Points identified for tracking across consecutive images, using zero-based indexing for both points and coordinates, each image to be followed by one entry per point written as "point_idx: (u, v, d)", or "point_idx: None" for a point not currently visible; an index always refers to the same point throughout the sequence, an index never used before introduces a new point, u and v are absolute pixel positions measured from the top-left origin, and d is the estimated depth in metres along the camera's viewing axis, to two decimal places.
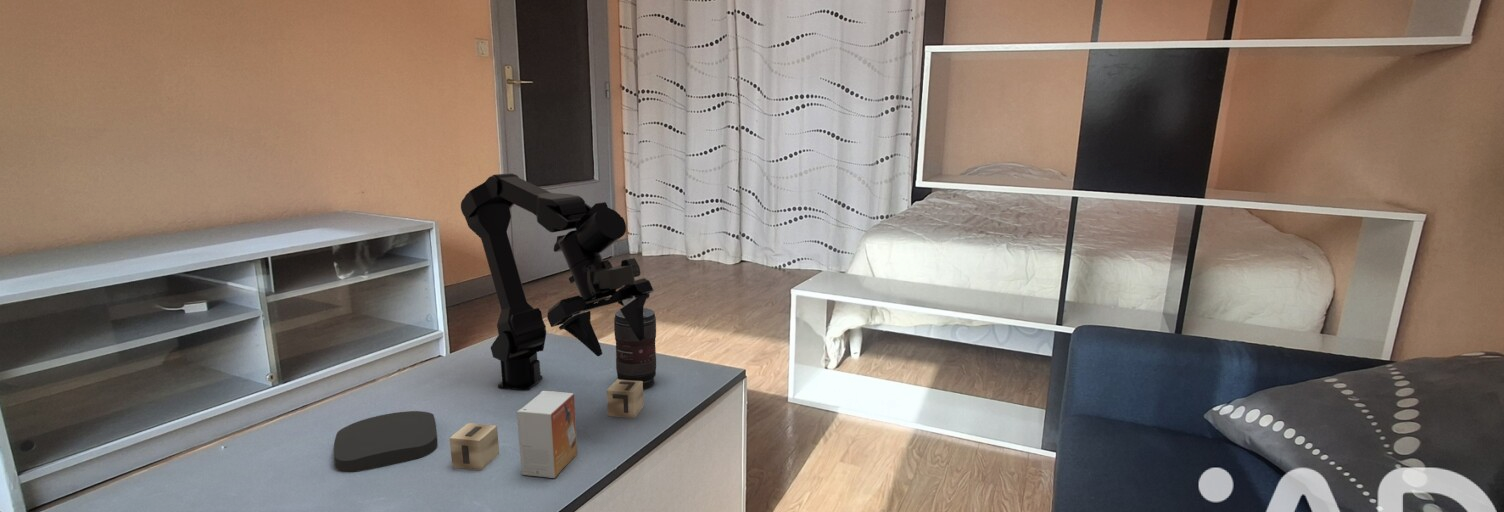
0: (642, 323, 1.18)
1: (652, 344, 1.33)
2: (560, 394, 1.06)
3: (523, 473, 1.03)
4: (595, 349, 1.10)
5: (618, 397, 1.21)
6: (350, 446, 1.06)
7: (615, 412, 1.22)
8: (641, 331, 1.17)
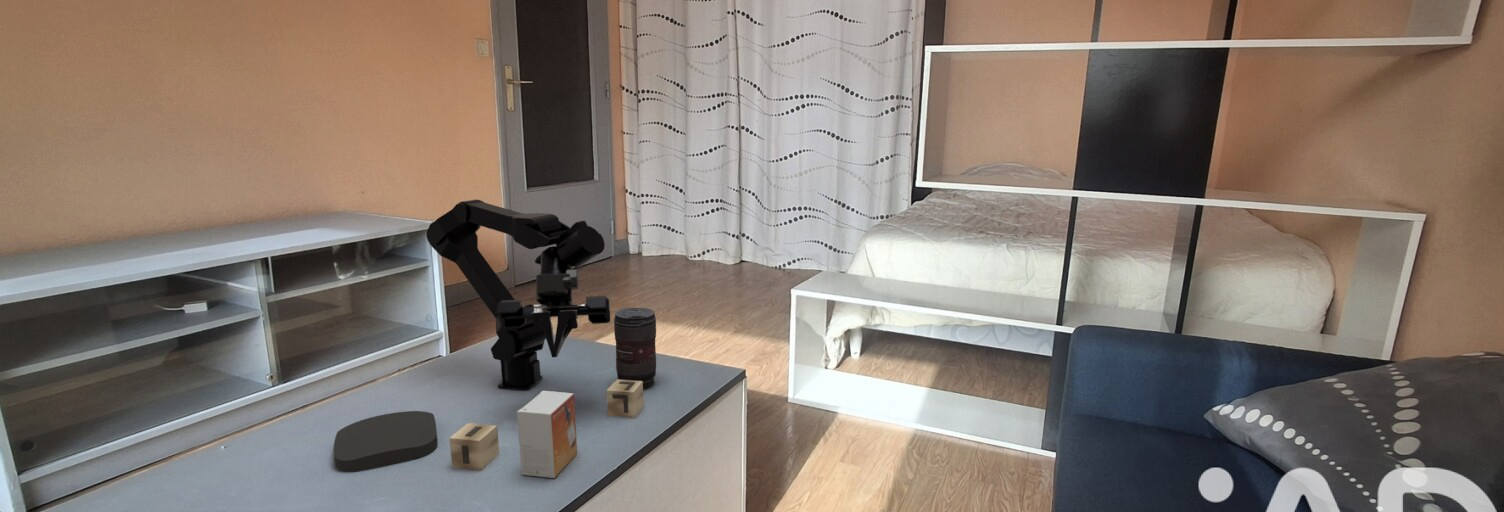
0: (559, 339, 1.16)
1: (652, 344, 1.33)
2: (560, 394, 1.06)
3: (523, 473, 1.03)
4: (550, 350, 1.16)
5: (618, 397, 1.21)
6: (350, 446, 1.06)
7: (615, 412, 1.22)
8: (555, 347, 1.16)
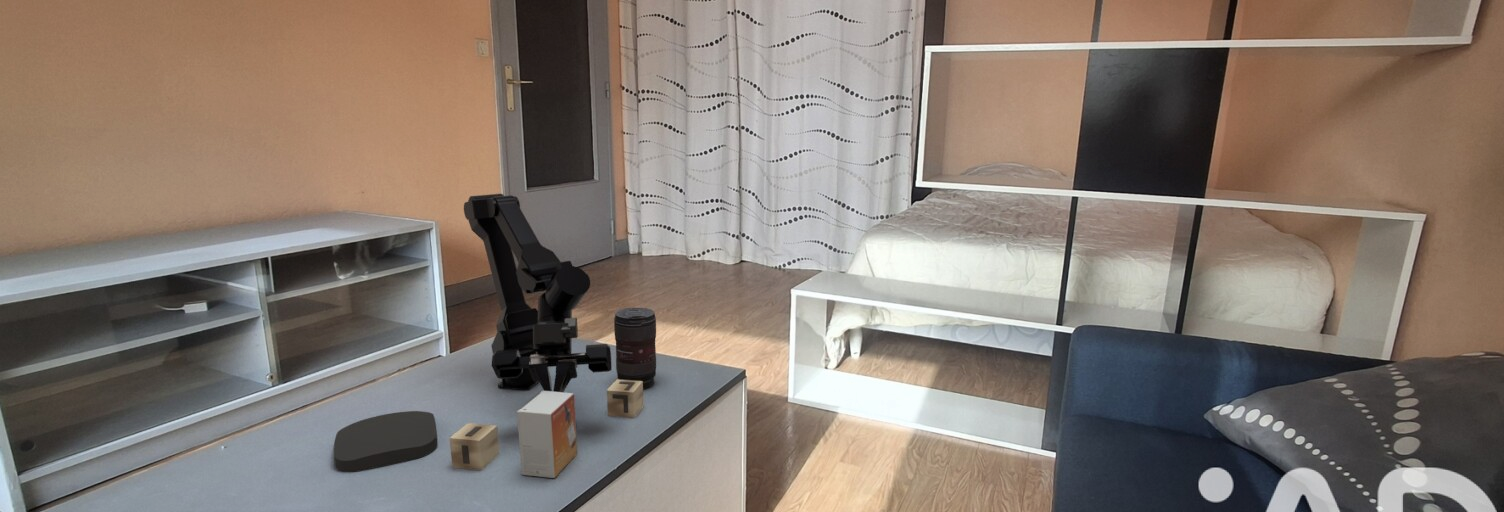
0: None
1: (652, 344, 1.33)
2: (560, 394, 1.06)
3: (523, 473, 1.03)
4: None
5: (618, 397, 1.21)
6: (350, 446, 1.06)
7: (615, 412, 1.22)
8: None
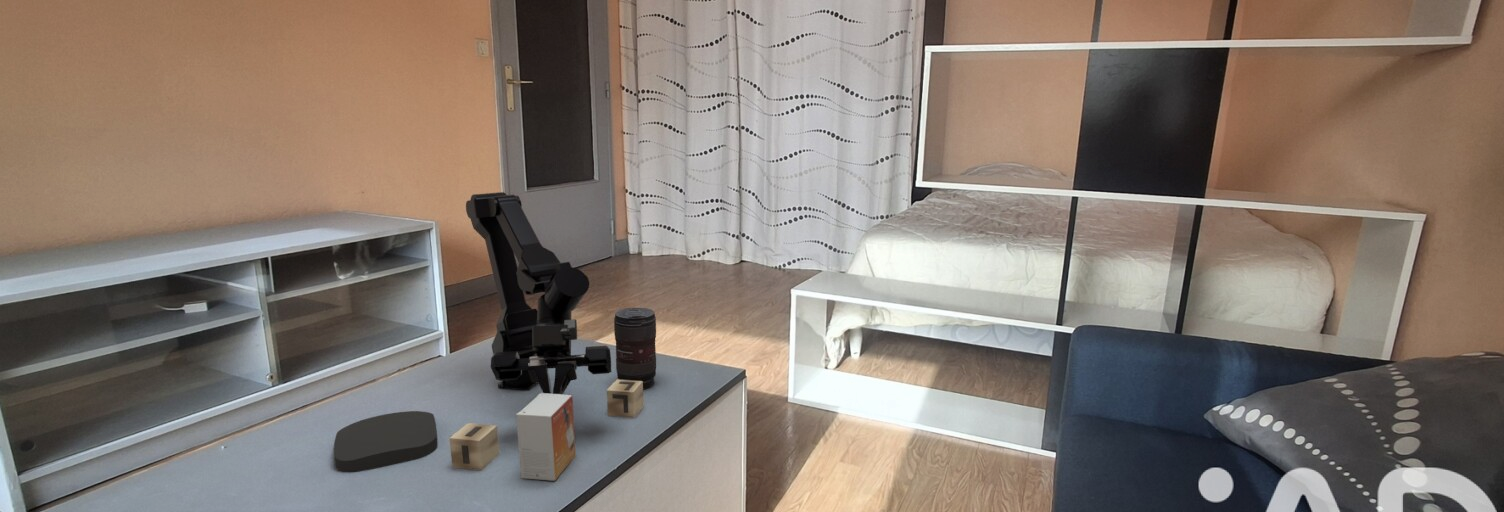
0: None
1: (652, 344, 1.33)
2: (558, 396, 1.06)
3: (523, 476, 1.02)
4: None
5: (618, 397, 1.21)
6: (351, 446, 1.06)
7: (615, 412, 1.22)
8: None
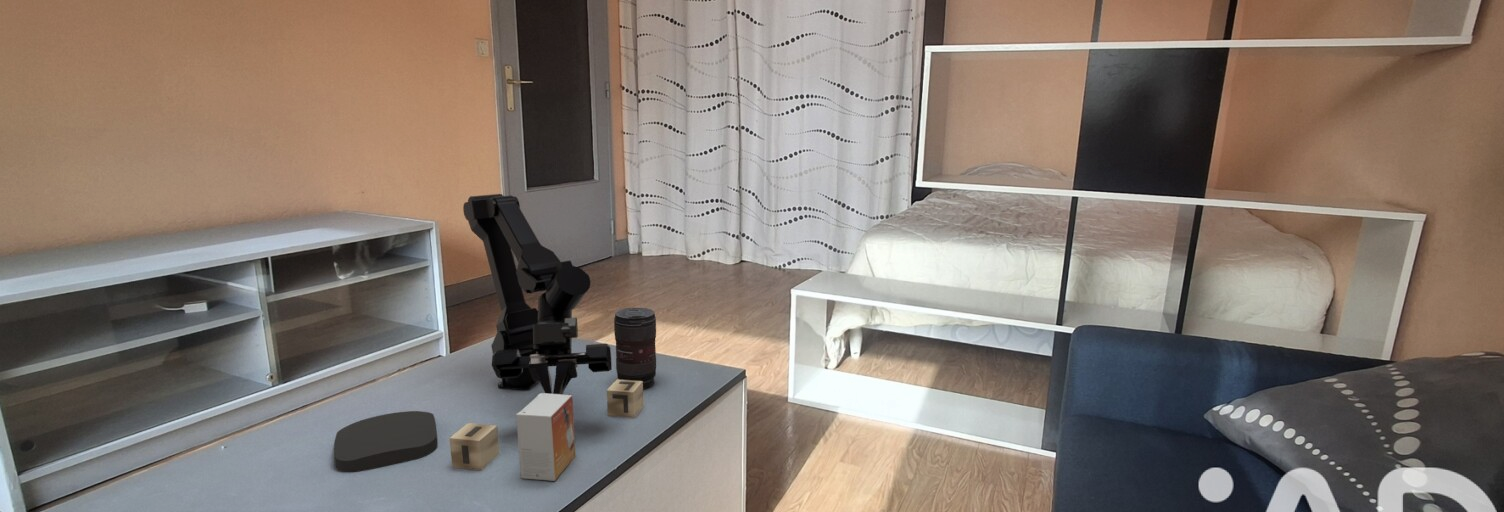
0: (557, 391, 1.10)
1: (652, 344, 1.33)
2: (558, 396, 1.06)
3: (523, 476, 1.02)
4: None
5: (618, 397, 1.21)
6: (351, 446, 1.06)
7: (615, 412, 1.22)
8: None
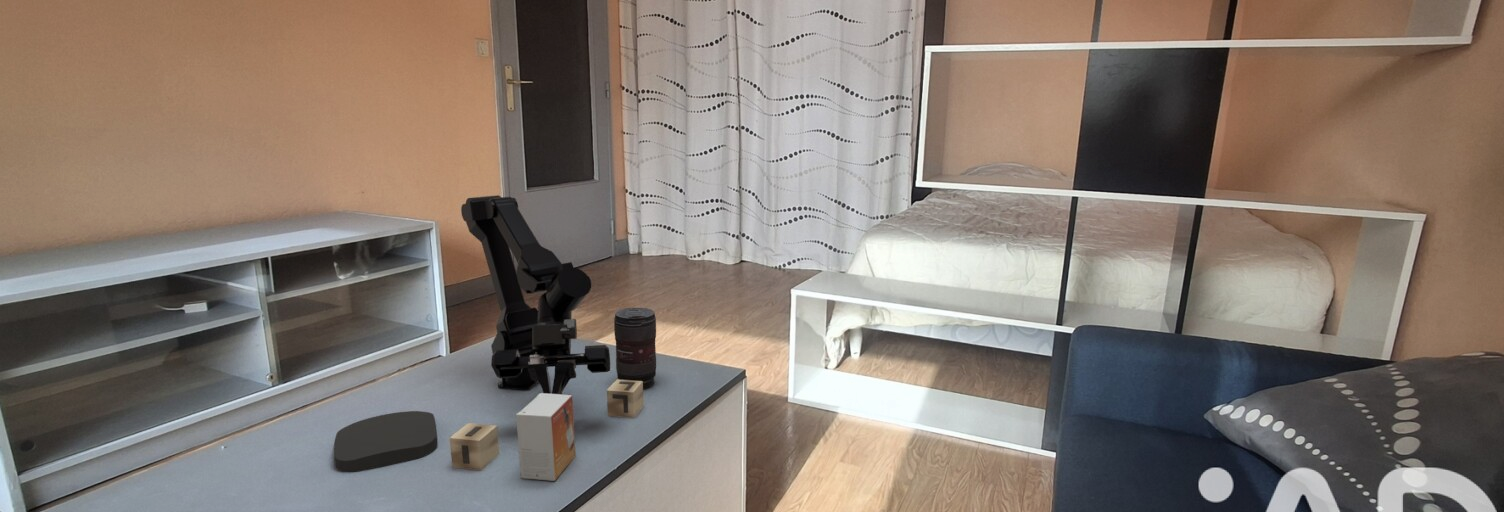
0: (556, 392, 1.11)
1: (652, 344, 1.33)
2: (558, 396, 1.06)
3: (523, 476, 1.02)
4: None
5: (618, 397, 1.21)
6: (351, 446, 1.06)
7: (615, 412, 1.22)
8: None
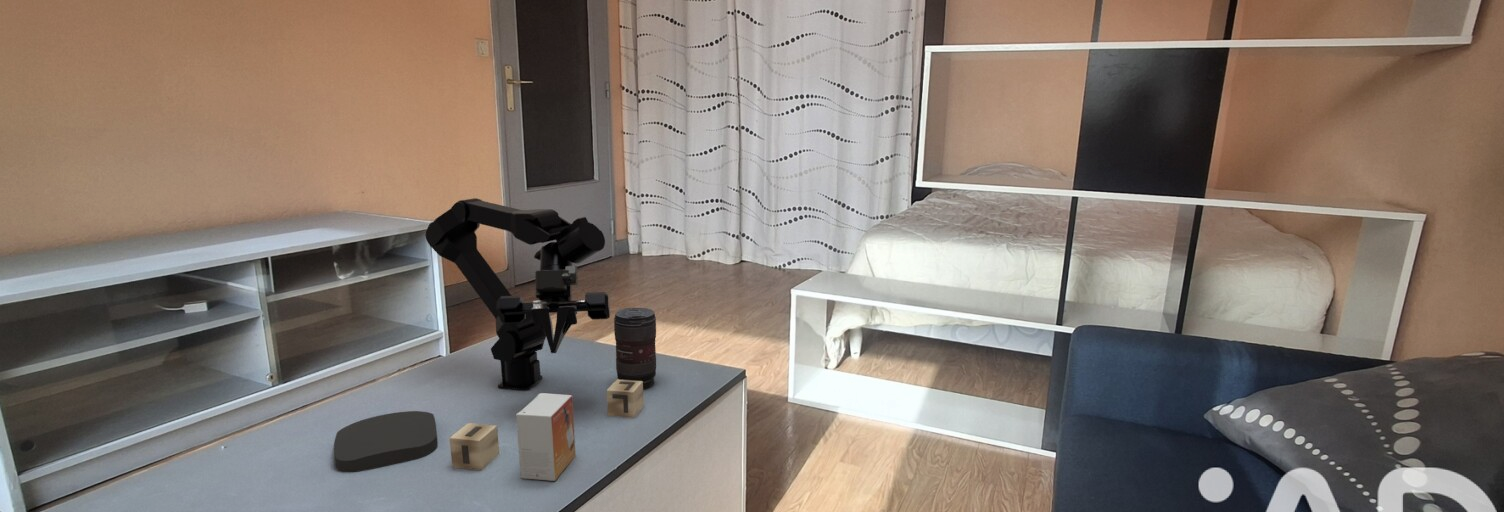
0: (558, 335, 1.16)
1: (652, 344, 1.33)
2: (558, 396, 1.06)
3: (523, 476, 1.02)
4: (549, 346, 1.16)
5: (618, 397, 1.21)
6: (351, 446, 1.06)
7: (615, 412, 1.22)
8: (555, 343, 1.16)
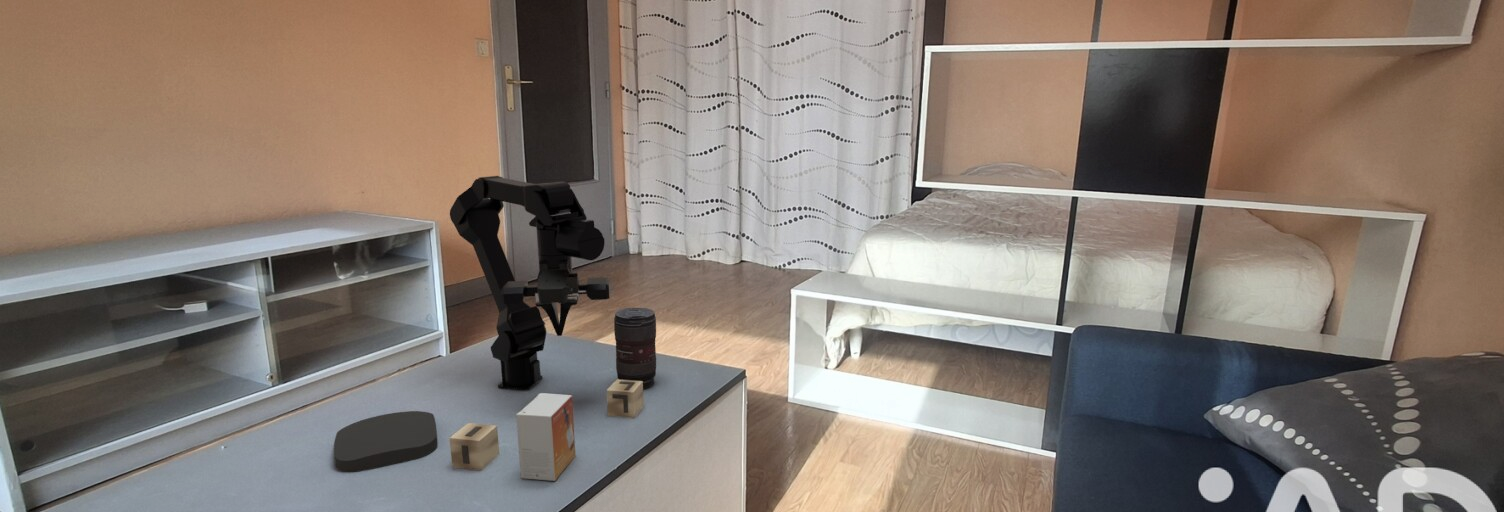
0: (563, 323, 1.24)
1: (652, 344, 1.33)
2: (558, 396, 1.06)
3: (523, 476, 1.02)
4: None
5: (618, 397, 1.21)
6: (351, 446, 1.06)
7: (615, 412, 1.22)
8: (560, 329, 1.25)
